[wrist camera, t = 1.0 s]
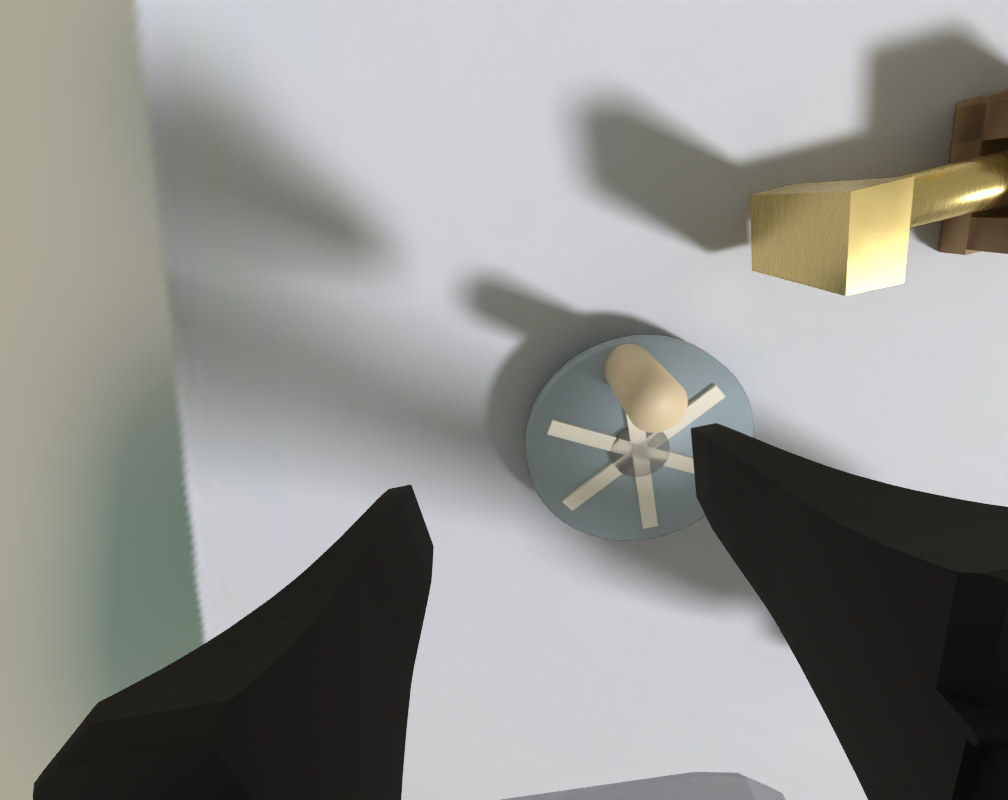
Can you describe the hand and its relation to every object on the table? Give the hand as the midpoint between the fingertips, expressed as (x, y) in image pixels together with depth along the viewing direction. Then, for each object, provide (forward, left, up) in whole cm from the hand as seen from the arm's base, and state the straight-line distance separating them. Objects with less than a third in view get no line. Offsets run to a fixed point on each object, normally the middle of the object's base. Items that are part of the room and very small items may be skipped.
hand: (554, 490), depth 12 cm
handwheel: (-4, -4, -10) cm, 12 cm away
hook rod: (+4, -16, -9) cm, 19 cm away
